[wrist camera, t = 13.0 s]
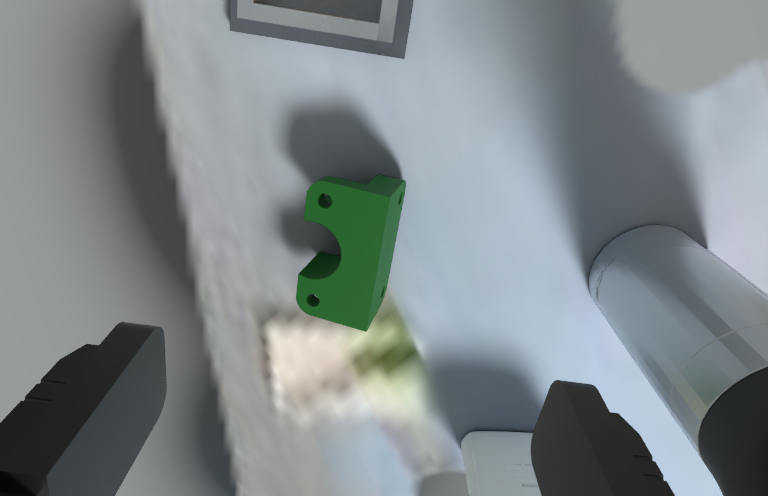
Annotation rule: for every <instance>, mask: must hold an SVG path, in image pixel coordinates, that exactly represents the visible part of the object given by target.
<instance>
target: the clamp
mask: <svg viewBox="0 0 768 496" xmlns="http://www.w3.org/2000/svg"><path fill="white" fill-rule="evenodd" d="M405 187H406V181H405V180H401V179H396V178H392V177H388V176H384V175H380V174H378V175H377V176H376V177H375V178H374V179H372V180H371V181H370V182H369V183H368V184H367V185H366V184H362V183H358V182H354V181H350V180H346V179H341V178H337V177H333V176H326V177H323V178H321V179H320V180H318V181H317V182H315V183H314V184H313V185H311V186H310V188H309V189H308V191H307V196H306V205H305V215H304V221H313V222H317V223H319V224H321V225H323V226H325V227H326V228H328V229H329V230H330V231H331V232H332V233H333V234H334V236H335V237H336V239H337V240H338V242H339V245H340V249H341V255H340V256H334V255H329V254H326V253H323V252H319V253H318V254H317V255H316V256H315V257H314V258H313V259H312V260H311V261H310V262H309V264H308V265H307V266H306V267H305V268H304V269H303V270H302V271H301V272H300V273H299V274H298V284H297V294H296V300H297V303H298V305H299V307H300V308H301V309H302V310H303V311H304V312H305V313H307V314H309V315H311V316H315V317H318V318H322V319H325V320H328V321H332V322H335V323H339V324H342V325H345V326H349V327H352V328H356V329H359V330H362V331H367V330H368V328H369V326H370V324H371V322H372V320H373V319H374V317H375V315H376V313H377V311H378V309H379V307H380V306H381V304H382V301H383V298H384V295H385V292H386V288H387V283H388V278H389V273H390V267H391V262H392V257H393V252H394V246H395V241H396V236H397V231H398V225H399V220H400V215H401V209H402V204H403V199H404V194H405ZM324 194H327V195H329V196H326V197H325V196H324ZM315 295H316V296H317V297H318V298H317V297H316V296H315Z"/></svg>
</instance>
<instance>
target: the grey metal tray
mask: <svg viewBox="0 0 768 496" xmlns="http://www.w3.org/2000/svg"><path fill="white" fill-rule="evenodd" d="M412 6H413V0H231V5H230V31H236V32H242V33H248V34H254V35H260V36H266V37H273V38H279V39H285V40H291V41H297V42H303V43H309V44H316V45H322V46H328V47H334V48H340V49H346V50H353V51H359V52H365V53H371V54H377V55H383V56H390V57H396V58H402V59H404V57H405V51H406V44H407V38H408V32H409V25H410V19H411V13H412Z"/></svg>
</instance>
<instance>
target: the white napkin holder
mask: <svg viewBox="0 0 768 496" xmlns="http://www.w3.org/2000/svg"><path fill="white" fill-rule="evenodd" d="M532 435H533V433H523V432H497V431H476V432H470V433H469V434H467V435H466V436H465V437H464V438H463V440H462V443H461V450H462V456H463V462H464V468H465V473H466V478H467V485H468V491H469V496H541V492H540V489H539V486H538V483H537V479H536V476H535V473H534V469H533V466H532V461H531V439H532Z"/></svg>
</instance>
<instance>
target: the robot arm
mask: <svg viewBox="0 0 768 496" xmlns="http://www.w3.org/2000/svg"><path fill="white" fill-rule="evenodd" d="M589 289H590V293H591V297H592V298H593V300H594V302H595V304H596V305H597V307H598V308H599V310H600V311H601V313H602V314H603V315H604V317H605V318H606V320H607V321H608V323H609V324H610V326H611V327H612V329H613V330H614V332H615V333H616V335H617V336H618V338H619V339H620V341H621V342H622V344H623V345H624V347H625V348H626V349H627V351H628V352H629V354H630V355H631V357H632V358H633V360H634V361H635V363H636V364H637V365H638V367H639V368H640V370H641V371H642V373H643V374H644V376H645V377H646V379H647V380H648V382H649V383H650V384H651V386H652V387H653V389H654V390H655V392H656V393H657V395H658V396H659V398H660V399H661V401H662V402H663V403H664V405H665V406H666V408H667V409H668V411H669V412H670V414H671V415H672V417H673V418H674V419H675V421H676V422H677V424H678V425H679V426H680V428H681V429H682V431H683V432H684V434H685V435H686V437H687V438H688V440H689V441H690V443H691V444H692V445H693V447H694V448H695V450H696V451H697V453H698V454H699V456H700V457H701V458H702V460H703V461H704V463H705V465H706V466H707V468H708V469H709V471H710V472H711V474H712V475H713V477H714V478H715V480H716V482H717V483H718V485H719V487H720V489H721V491H722V494H723V496H768V295H767V294H766V293H764V292H763V291H762V290H760V289H759V288H758V287H757V286H755V285H754V284H753V283H751V282H750V281H749V280H747V279H746V278H745V277H744V276H742V275H741V274H740V273H738V272H737V271H736V270H734V269H733V268H732V267H731V266H729V265H728V264H727V263H725V262H724V261H723V260H721V259H720V258H719V257H718V256H716V255H715V254H714V253H712V252H711V251H710V250H708V249H705V248H703V247H702V246H701V245H699V244H698V243H697V242H696V241H694V240H693V239H692V238H690V237H689V236H688V235H686V234H685V233H683V232H682V231H680V230H678V229H675V228H673V227H669V226H663V225H647V226H643V227H639V228H635V229H632V230H630V231H627V232H625V233H623V234H621V235H620V236H618V237H617V238H615V239H613V240H612V241H611V242H610V243H609V244H608V245H607V246H605V247H604V248H603V250H602V251H601V252H600V253H599V255H598V256H597V257H596V259H595V261H594V263H593V265H592V267H591V271H590V275H589ZM165 396H166V363H165V340H164V331H163V329H162V328H161V327H157V326H150V325H142V324H135V323H126V322H121V323H119V324H118V325H116V326H115V328H114V329H113V330H112V331H111V332H110V334H109V335H108V336H107V337H106V338H105V339H104V340H103V342H102V343H101V344H100V345H91V344H86V345H84V346H82V347H81V348H79V349H77V350H76V351H74V352H72V353H70V354H69V355H67V356H65V357H64V358H62V359H60V360H59V361H58V362H57V363H56V364H55V365H54V366H53V367H52V369H51V370H50V371H49V372H48V373H47V374H46V375H45V376H44V377H43V378H42V379H41V383H40V384H36V386H35V387H34V388H33V389H32V390H31V391H30V392H29V393H28V394H27V395H26V397H25V400H24V401H21V402H20V403H19V404H18V405H17V406H16V407H15V408H14V409H13V410H12V411H11V412H10V413H9V414H8V415H7V416H6V418H5V419H4V420H3V421H2V422H1V423H0V496H115V494H116V492H117V491H118V489H119V487H120V486H121V484H122V482H123V480H124V478H125V476H126V475H127V473H128V471H129V470H130V468H131V466H132V464H133V462H134V461H135V459H136V457H137V455H138V454H139V452H140V450H141V448H142V447H143V445H144V443H145V441H146V440H147V438H148V436H149V434H150V432H151V431H152V429H153V427H154V425H155V424H156V422H157V420H158V418H159V416H160V414H161V411H162V408H163V405H164V401H165ZM531 461H532V466H533V469H534V473H535V476H536V479H537V483H538V486H539V489H540V492H541V496H675V495H674V493H673V492H672V490H671V488H670V486H669V485H668V483H667V481H664V480H663V477H664V476H663V474H662V473H661V471H660V469H659V467H658V466H657V464H656V462H654V461H652V455H651V454H650V452H649V450H648V448H647V447H646V445H645V443H644V441H643V440H642V438H641V436H640V435H639V433H638V432H637V431H636V430H634V429H633V428H632V427H631V426H630V425H629V424H628V423H627V422H626V421H625V420H624V419H623V418H622V417H621V416H620V415H619V414H618V413H610V412H609V410H608V408H607V406H606V404H605V402H604V401H603V399H602V397H601V395H600V393H599V391H598V390H597V388H596V387H595V386H593V385H591V384H583V383H575V382H568V381H560V380H556V381H554V382H553V383H552V385H551V386H550V389H549V391H548V394H547V397H546V399H545V402H544V405H543V407H542V410H541V413H540V415H539V418H538V421H537V423H536V426H535V429H534V431H533V435H532V439H531Z"/></svg>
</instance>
